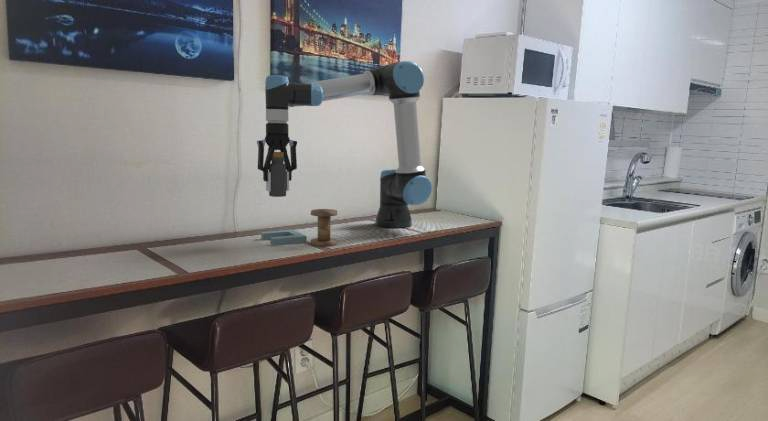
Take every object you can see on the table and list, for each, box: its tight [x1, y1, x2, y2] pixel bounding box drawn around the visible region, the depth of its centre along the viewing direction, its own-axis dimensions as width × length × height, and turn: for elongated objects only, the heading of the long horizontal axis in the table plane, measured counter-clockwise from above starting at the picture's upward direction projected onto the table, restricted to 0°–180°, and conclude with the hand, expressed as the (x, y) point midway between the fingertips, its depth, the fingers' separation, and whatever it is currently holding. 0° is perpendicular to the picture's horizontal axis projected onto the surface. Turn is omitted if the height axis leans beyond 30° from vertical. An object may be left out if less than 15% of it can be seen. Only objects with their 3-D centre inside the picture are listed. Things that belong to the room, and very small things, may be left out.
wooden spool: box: [310, 208, 338, 247], centre depth 187 cm, size 9×9×11 cm
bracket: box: [260, 229, 308, 247], centre depth 191 cm, size 12×13×2 cm
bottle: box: [268, 151, 287, 198], centre depth 186 cm, size 6×6×15 cm
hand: (277, 190), depth 187 cm, fingers closed on bottle, 6 cm apart
